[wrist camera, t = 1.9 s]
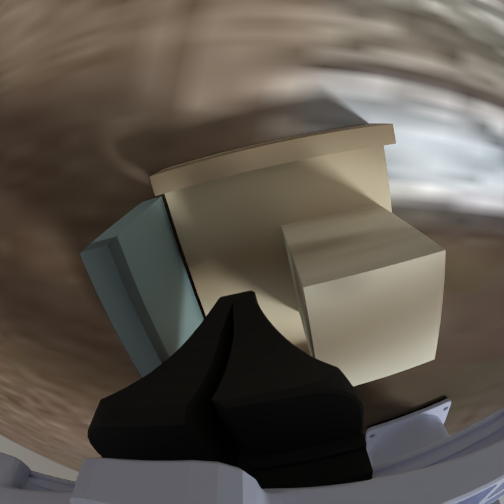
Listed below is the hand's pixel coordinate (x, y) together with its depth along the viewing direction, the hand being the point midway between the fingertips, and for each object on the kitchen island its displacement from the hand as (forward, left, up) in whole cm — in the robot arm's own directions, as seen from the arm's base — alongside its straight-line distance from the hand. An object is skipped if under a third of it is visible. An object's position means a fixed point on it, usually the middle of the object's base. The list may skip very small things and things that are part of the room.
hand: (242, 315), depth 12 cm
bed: (0, -3, -4) cm, 5 cm away
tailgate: (0, +3, -3) cm, 5 cm away
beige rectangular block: (0, -5, -3) cm, 5 cm away
